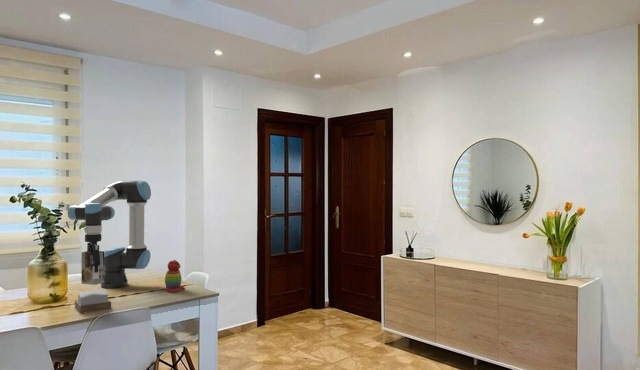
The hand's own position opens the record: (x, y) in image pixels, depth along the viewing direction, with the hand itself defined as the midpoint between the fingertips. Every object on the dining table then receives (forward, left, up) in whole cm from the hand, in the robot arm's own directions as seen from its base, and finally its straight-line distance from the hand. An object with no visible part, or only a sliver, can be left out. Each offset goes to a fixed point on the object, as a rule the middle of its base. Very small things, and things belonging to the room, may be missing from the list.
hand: (92, 276), depth 227 cm
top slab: (0, 0, -12) cm, 12 cm away
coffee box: (0, 0, -3) cm, 3 cm away
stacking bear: (-10, +46, -16) cm, 50 cm away
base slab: (0, 0, -16) cm, 16 cm away
